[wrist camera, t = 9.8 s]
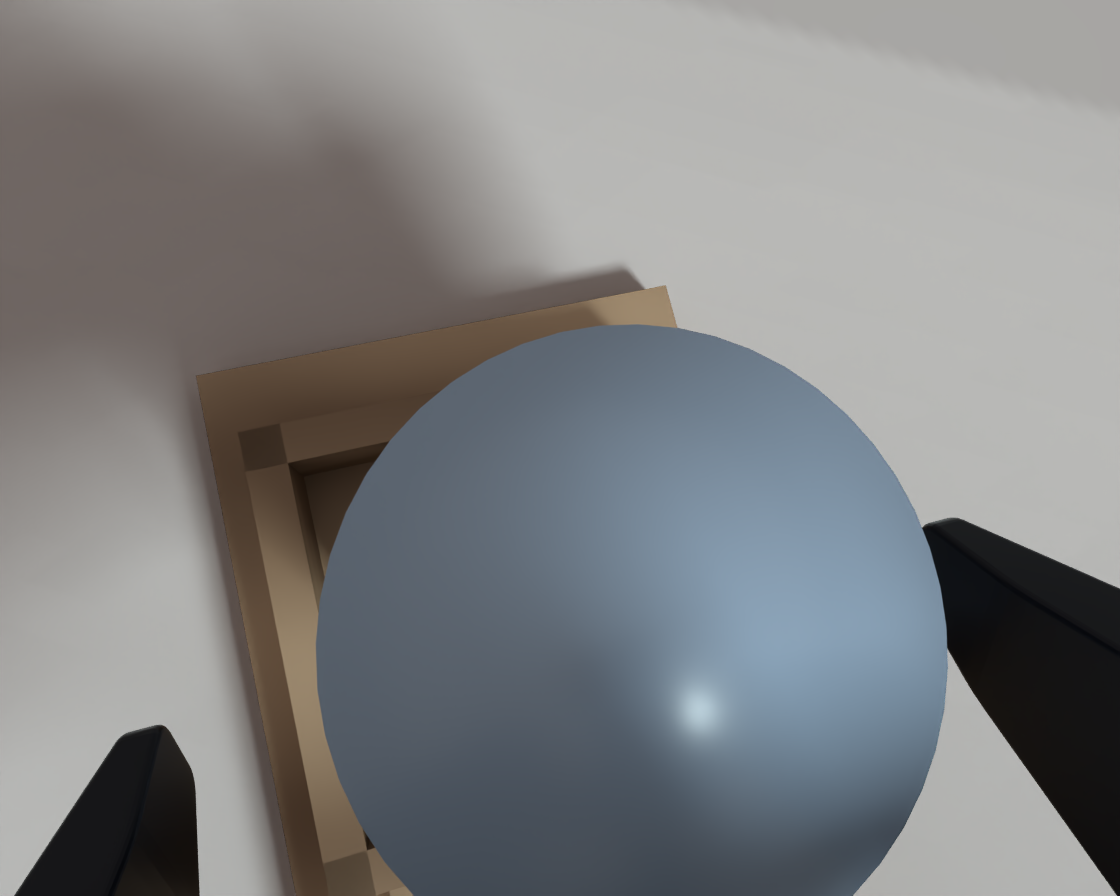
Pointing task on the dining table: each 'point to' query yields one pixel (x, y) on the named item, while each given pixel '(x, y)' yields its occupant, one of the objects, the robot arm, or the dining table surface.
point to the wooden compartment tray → (335, 533)
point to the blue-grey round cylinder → (631, 630)
